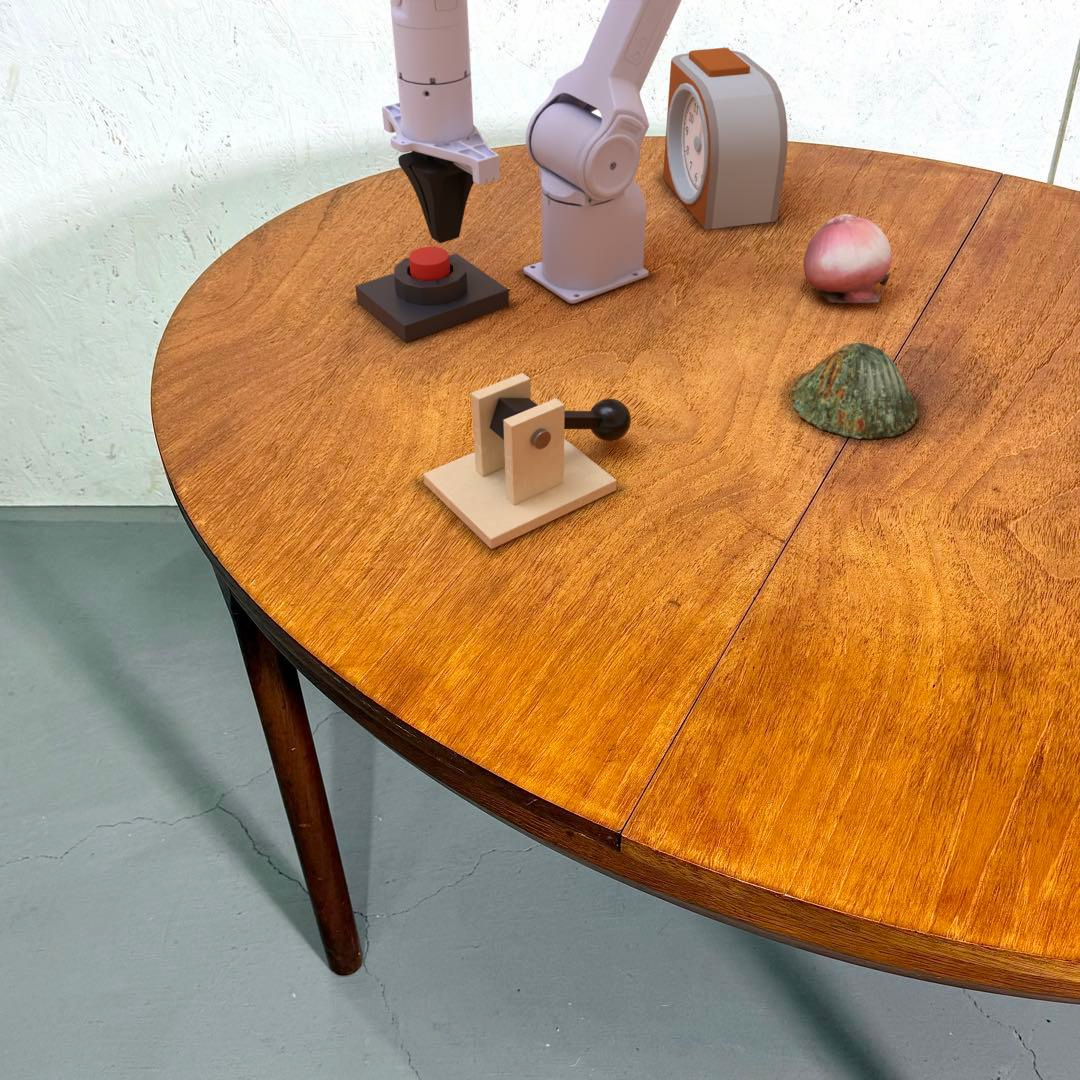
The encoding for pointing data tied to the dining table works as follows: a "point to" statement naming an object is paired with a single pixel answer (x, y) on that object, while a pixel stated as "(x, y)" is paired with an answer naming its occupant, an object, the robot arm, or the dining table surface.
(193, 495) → the dining table surface
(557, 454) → the lever base
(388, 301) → the control block
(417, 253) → the button
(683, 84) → the alarm clock
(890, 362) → the seashell
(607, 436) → the black lever handle
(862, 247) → the onion
